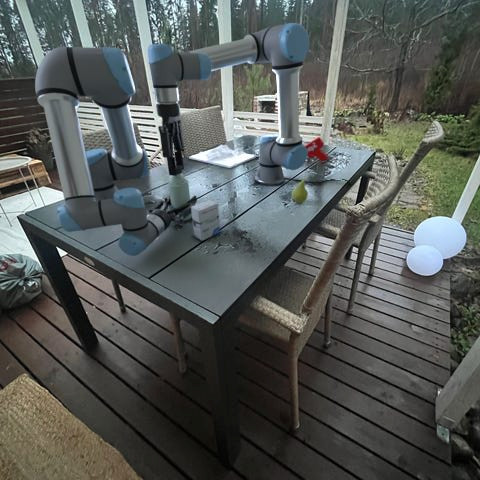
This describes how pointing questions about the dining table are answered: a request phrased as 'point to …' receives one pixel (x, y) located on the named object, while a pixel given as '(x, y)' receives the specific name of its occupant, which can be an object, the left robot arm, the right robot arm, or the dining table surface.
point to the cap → (179, 169)
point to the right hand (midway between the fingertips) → (176, 172)
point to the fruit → (300, 192)
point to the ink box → (205, 219)
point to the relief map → (223, 156)
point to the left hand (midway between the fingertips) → (186, 197)
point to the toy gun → (316, 149)
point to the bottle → (179, 192)
